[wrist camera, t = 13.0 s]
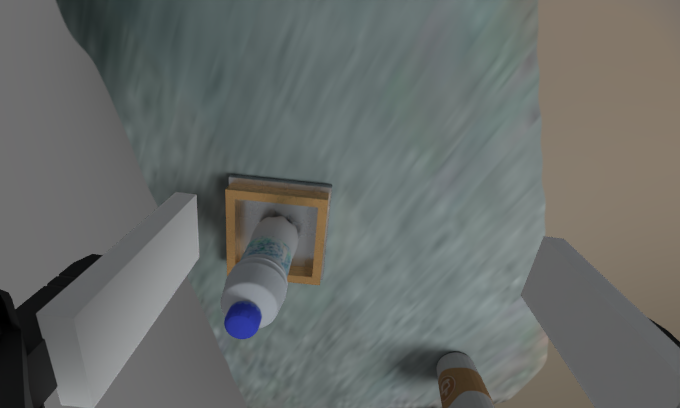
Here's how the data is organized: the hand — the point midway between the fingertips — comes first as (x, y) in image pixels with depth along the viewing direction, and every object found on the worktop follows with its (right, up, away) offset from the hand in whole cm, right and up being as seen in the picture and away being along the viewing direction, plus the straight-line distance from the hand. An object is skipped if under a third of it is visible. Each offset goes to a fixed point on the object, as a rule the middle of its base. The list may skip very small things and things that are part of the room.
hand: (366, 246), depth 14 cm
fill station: (-10, -2, +40) cm, 41 cm away
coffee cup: (+19, -26, +50) cm, 59 cm away
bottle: (-10, -2, +39) cm, 40 cm away
